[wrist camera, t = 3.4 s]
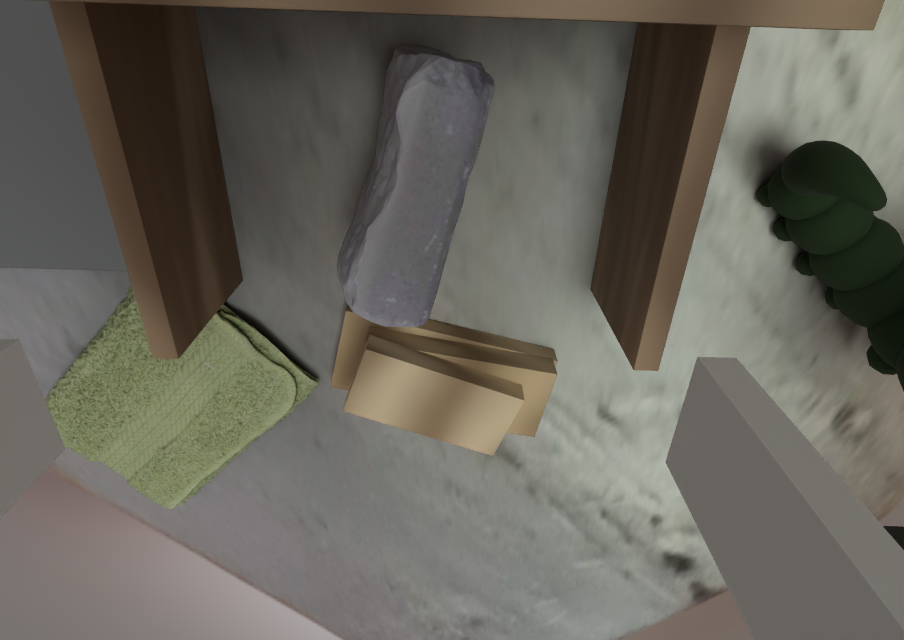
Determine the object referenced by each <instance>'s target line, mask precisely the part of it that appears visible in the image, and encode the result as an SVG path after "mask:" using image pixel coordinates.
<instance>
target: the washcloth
mask: <svg viewBox="0 0 904 640" xmlns="http://www.w3.org/2000/svg"><path fill="white" fill-rule="evenodd" d="M128 290H129V291H130V292H128V296H127V298H126V299H125V301H124V302H122V303H120V304H119V305H118V306H117V307H118V308H117V309H116V311H115V313H113V315H112V316H111V317H109V318H108V321H107V322H105V325H106V326H105V327H103V328H102V329H101V330H100V331H99V332H98V333H97V336H96V337H95V338H94V339H93V340H91V341H90V342H89V344H88V346H87V349H84V352H83V353H81V354H80V355H79V356H78V358H77V359H76V360H75V361H74V362H73V365H72V366H71V368H70V370H69V371H68V372H67V373H66V375H65V376H64V377H63V378H60V379H59V380H58V381H57V383H56V384H55V386H56V387H54V388H51V390H50V392H49V394H50V395H49V396H47V398H46V400H45V402H46V404H47V406H48V409H49V411H50V413H51V416H52V418H53V420H54V423H55V425H56V427H57V430H58V432H59V435H60V437H61V439H62V442H63V444H64V446H65V447H67V448H71V449H72V451H74V452H76V453H78V454H82V456H85V457H86V458H87V459H88V460H89V461H92V462H96V461H99V462H101V463H103V464H105V465H106V466H107V467H109V468H111V469H112V470H114V471H116V472H117V473H120V474H121V475H122V476H123V477H124V478H126V479H127V480H128V484H129V485H130V486H131V487H134V488H135V489H136V490H137V491H139V492H141V493H143V494H145V495H146V496H147V497H148V498H149V499H150V500H152V501H153V502H156V503H157V504H159V505H161V506H163V507H166V508H168V509H172V508H174V507H175V506H181V505H183V504H184V503H185V502H186V500H188V499H189V498H191V497H193V496H194V495H196V494H197V493H198V492H199V491H200V488H201V487H203V486H204V485H205V484H206V483H207V482H210V480H212V479H213V478H214V476H215V475H217V474H218V471H221V470H222V468H225V467H226V466H227V465H228V463H231V460H233V459H235V457H236V456H237V455H239V454H241V453H242V452H243V450H245V449H247V446H248V445H249V444H250V443H252V442H254V441H257V440H258V437H259V435H261V434H263V433H264V432H266V431H267V430H269V429H271V430H272V428H273V427H275V425H276V424H277V423H278V422H279V421H282V420H284V418H285V417H286V416H288V415H289V414H290V413H291V412H293V411H294V410H295V407H296V405H298V404H299V403H300V402H302V401H304V400H305V398H307V397H308V396H309V394H310V393H311V392H312V391H313V390H314V389H315V388H316V386H317V385H318V382H319V380H318V379H317V378H315V377H313V376H311V375H310V374H309V372H305V371H304V370H302V369H301V368H300V367H299V366H297V365H296V364H294V363H293V362H292V361H291V360H289V359H288V358H287V357H286V356H285V355H284V354H283V353H282V352H281V351H279V350H278V348H277V347H276V346H274V345H273V344H272V343H271V342H270V341H269V340H268V339H267V338H265V337H264V336H262V334H261V333H259V332H258V331H257V330H256V329H255V328H254V327H253V326H251V325H249V324H247V323H246V322H245V321H244V320H242V319H241V318H240V317H239V316H237V315H236V314H235V313H234V312H233V311H231V310H230V309H229V308H228V307H226V306H225V305H222V306H221V308H220V309H219V310H218V311H217V312H216V314H215V315H214V316H213V317H212V319H211V320H210V321H209V322H208V324H207V325H206V326H205V327H204V328H203V330H202V331H201V332H200V333H199V335H198V336H197V337H196V338H195V339H194V341H193V342H192V343H191V344H190V346H189V347H188V348H187V349H186V351H185V352H184V353H183V354H182V355H181V357H180V358H179V359H153V356H152V353H151V349H150V346H149V343H148V339H147V336H146V332H145V329H144V326H143V322H142V319H141V315H140V312H139V308H138V305H137V302H136V298H135V295H134V291H133V288H132V287H131V288H128Z"/></svg>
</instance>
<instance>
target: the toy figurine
mask: <svg viewBox="0 0 904 640" xmlns="http://www.w3.org/2000/svg"><path fill="white" fill-rule="evenodd" d="M757 198H758V200H759V201H760V203H761V204H762V205H763V206H767V207H772V208H773V209H774V210H775V211H777V212H778V213H779V214H780V215H782V216H784V218H783V219H781V220H779V221H777V222H776V224H775V226H774V233H775V235H776V236H777V238H778V239H780V240H783V241H790V240H792V241H793V242H794V243H795V244H796V245H798V246H799V247H801V248H802V249H804V250H805V251H807V252H806V253H804V254H802V255H800V256H799V258H798V260H797V261H796V268H797V270H798V271H799V272H800V273H801V274H802V275H807V276H812V275H816V276H817V278H818V279H820V280H821V281H822V282H824V283H825V284H827V285H828V286H829V288H828V290H827V291H826V292H825V299H826V303H827V304H828V305H829V306H831V307H832V308H833V309H838V310H840V311H841V312H842V313H843V314H844V315H845V316H847V317H848V318H849V319H851V320H852V321H853V322H855V323H856V324H858V325H861V326H864V327H866V328H867V330H868V337H869V340H870V342H871V344H872V345H871V346H870V347H869V349H868V351H867V358H868V362H869V365H870V366H871V367H872V368H874V369H875V370H877V371H879V372H880V373H882V374H889V375H894V374H898V378H899V381H900V383H901V386H902V388H903V391H904V245H903V242H902V240H901V237H900V235H899V233H898V232H897V230H896V229H895V228H893V227H892V226H891V225H890V224H889V223H888V222H886V221H883V220H881V219H878V218H877V217H876V216H874V213H873V211H878V210H881V209H882V208H883V207H885V205H886V202H887V197H886V194H885V192H884V190H883V188H882V186H881V185H880V183H879V182H878V180H877V179H876V177H875V176H874V174H873V173H872V171H871V170H870V168H869V167H868V166H867V164H866V163H865V162H864V161H863V160H862V158H861V157H860V156H859V155H857V154H856V153H854V152H853V151H852V150H850V149H849V148H847V147H845V146H843V145H841V144H839V143H836V142H832V141H814V142H809V143H806V144H804V145H802V146H800V147H798V148H797V149H795V150H794V151H793V152H792V153H791V154H790V155H789V156H788V157H787V158H786V159H785V161H784V163H782V164H781V165H780V166H779V167H778V168H777V169H776V171H775V172H774V173H773V175H772V176H771V179H770V181H769V183H768V184H766V185H764V186H763V187H761V188H760V190H759V192H758V197H757Z"/></svg>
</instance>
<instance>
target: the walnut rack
mask: <svg viewBox="0 0 904 640" xmlns="http://www.w3.org/2000/svg"><path fill="white" fill-rule="evenodd" d="M32 1H49V5H50V8H51V12H52V15H53V18H54V22H55V25H56V29H57V32H58V35H59V39H60V42H61V46H62V49H63V52H64V56H65V59H66V63H67V66H68V70H69V73H70V76H71V80H72V83H73V87H74V90H75V93H76V97H77V100H78V104H79V107H80V110H81V114H82V117H83V121H84V124H85V128H86V131H87V134H88V138H89V141H90V145H91V148H92V151H93V155H94V158H95V162H96V165H97V169H98V172H99V175H100V179H101V182H102V186H103V189H104V192H105V196H106V199H107V203H108V206H109V209H110V213H111V216H112V220H113V223H114V227H115V230H116V233H117V237H118V240H119V244H120V247H121V250H122V254H123V257H124V261H125V264H126V268H127V271H128V274H129V278H130V281H131V285H132V288H133V291H134V295H135V298H136V302H137V305H138V308H139V312H140V315H141V319H142V322H143V326H144V329H145V332H146V336H147V339H148V343H149V346H150V349H151V353H152V356H153V359H179V358H180V357H181V355H182V354H183V353H184V352H185V351H186V349H187V348H188V347H189V346H190V344H191V343H192V342H193V341H194V339H195V338H196V337H197V336H198V335H199V333H200V332H201V331H202V330H203V328H204V327H205V326H206V325H207V324H208V322H209V321H210V320H211V319H212V317H213V316H214V315H215V314H216V312H217V311H218V310H219V309H220V308H221V306H222V305H223V304H224V303H225V301H226V300H227V299H228V298H229V296H230V295H231V294H232V293H233V292H234V290H235V289H236V288H237V287H238V285H239V284H240V283H241V282H242V281H243V278H242V273H241V267H240V262H239V256H238V250H237V245H236V239H235V234H234V228H233V222H232V217H231V211H230V206H229V200H228V194H227V189H226V183H225V178H224V172H223V166H222V161H221V155H220V150H219V144H218V138H217V133H216V127H215V122H214V116H213V110H212V105H211V99H210V93H209V88H208V82H207V77H206V71H205V65H204V60H203V54H202V49H201V43H200V37H199V32H198V26H197V21H196V15H195V9H194V7H219V8H246V9H274V10H301V11H329V12H356V13H384V14H411V15H439V16H466V17H494V18H521V19H549V20H577V21H604V22H632V23H638V25H637V30H636V36H635V42H634V47H633V53H632V59H631V64H630V70H629V76H628V81H627V87H626V92H625V98H624V104H623V109H622V115H621V121H620V126H619V132H618V138H617V143H616V149H615V155H614V160H613V166H612V171H611V177H610V183H609V188H608V194H607V200H606V205H605V211H604V217H603V222H602V228H601V234H600V239H599V245H598V250H597V256H596V262H595V267H594V273H593V279H592V284H591V291H592V293H593V295H594V297H595V299H596V300H597V302H598V304H599V306H600V308H601V310H602V312H603V314H604V315H605V317H606V319H607V321H608V323H609V325H610V327H611V329H612V330H613V332H614V334H615V336H616V338H617V340H618V342H619V343H620V345H621V347H622V349H623V351H624V353H625V355H626V357H627V358H628V360H629V362H630V364H631V366H632V368H633V370H652V371H658V369H659V366H660V362H661V358H662V355H663V351H664V347H665V343H666V340H667V336H668V332H669V328H670V325H671V321H672V317H673V314H674V310H675V306H676V302H677V299H678V295H679V291H680V288H681V284H682V280H683V276H684V273H685V269H686V265H687V262H688V258H689V254H690V250H691V247H692V243H693V239H694V236H695V232H696V228H697V224H698V221H699V217H700V213H701V210H702V206H703V202H704V198H705V195H706V191H707V187H708V184H709V180H710V176H711V172H712V169H713V165H714V161H715V158H716V154H717V150H718V146H719V143H720V139H721V135H722V132H723V128H724V124H725V120H726V117H727V113H728V109H729V106H730V102H731V98H732V94H733V91H734V87H735V83H736V80H737V76H738V72H739V68H740V65H741V61H742V57H743V54H744V50H745V46H746V42H747V39H748V35H749V31H750V27H775V28H802V29H830V30H874V28H875V25H876V23H877V20H878V17H879V14H880V12H881V9H882V6H883V4H884V1H885V0H32Z"/></svg>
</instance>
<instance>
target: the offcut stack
mask: <svg viewBox="0 0 904 640" xmlns="http://www.w3.org/2000/svg"><path fill="white" fill-rule="evenodd" d="M557 362H558V361H557V358H556V355H555V351H554V349H552V348H548V347H544V346H539V345H535V344H531V343H527V342H523V341H519V340H514V339H510V338H506V337H502V336H498V335H494V334H490V333H485V332H481V331H477V330H473V329H469V328H465V327H460V326H456V325H452V324H448V323H444V322H440V321H435V320H431V319H428V320H427V321H426V322H425V323H424V324H423V325H422V326H418V327H386V326H382V325H379V324H376V323H373V322H371V321H369V320H366V319H364V318H363V317H361V316H359V315H357V314H355V313H354V312H353V311H352V310H351V308H350V307H349V305H348V306H347V309H346V313H345V317H344V322H343V327H342V332H341V337H340V342H339V347H338V352H337V357H336V361H335V366H334V371H333V376H332V381H331V387H335V388H340V389H345V390H349V391H348V394H347V397H346V401H345V405H344V408H343V411H344V412H348V413H351V414H354V415H358V416H361V417H364V418H368V419H371V420H374V421H378V422H381V423H385V424H388V425H391V426H395V427H398V428H401V429H405V430H408V431H411V432H415V433H418V434H421V435H425V436H428V437H431V438H435V439H438V440H441V441H445V442H448V443H451V444H455V445H458V446H461V447H465V448H468V449H471V450H475V451H478V452H481V453H485V454H488V455H491V456H493V455H494V453H495V451H496V449H497V448H498V446H499V444H500V442H501V441H502V439H503V437H504V436H505V434H506V433H512V434H519V435H525V436H531V437H535V434H536V431H537V429H538V426H539V423H540V420H541V418H542V415H543V412H544V410H545V407H546V404H547V401H548V399H549V396H550V393H551V391H552V388H553V385H554V382H555V380H556V377H557V372H556V368H555V366H556V364H557Z"/></svg>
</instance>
